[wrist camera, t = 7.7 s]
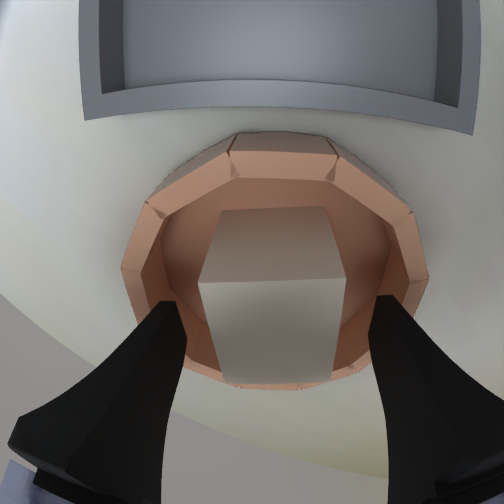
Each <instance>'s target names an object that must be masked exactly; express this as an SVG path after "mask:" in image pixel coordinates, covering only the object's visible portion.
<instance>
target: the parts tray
mask: <svg viewBox="0 0 504 504" xmlns="http://www.w3.org/2000/svg"><path fill="white" fill-rule="evenodd" d="M480 57H481V20H480V1H479V0H79V63H80V79H81V92H82V102H83V112H84V120H85V121H86V120H91V119H97V118H103V117H109V116H116V115H123V114H131V113H139V112H148V111H157V110H168V109H181V108H198V107H225V106H266V107H293V108H310V109H323V110H334V111H344V112H352V113H361V114H368V115H375V116H382V117H388V118H395V119H400V120H406V121H411V122H417V123H422V124H426V125H431V126H436V127H440V128H444V129H449V130H453V131H457V132H461V133H465V134H468V135H472V136H473V130H474V123H475V116H476V108H477V99H478V89H479V76H480Z"/></svg>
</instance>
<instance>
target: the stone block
mask: <svg viewBox="0 0 504 504" xmlns="http://www.w3.org/2000/svg"><path fill="white" fill-rule="evenodd" d="M345 285H346V275H345V272H344V268H343V265H342V261H341V258H340V254H339V251H338V248H337V245H336V241H335V238H334V235H333V232H332V228H331V225H330V222H329V219H328V216H327V213H326V210H325V207H324V206H305V207H280V208H258V209H239V210H223V211H221V214H220V217H219V220H218V222H217V225H216V228H215V231H214V234H213V237H212V240H211V243H210V246H209V249H208V252H207V255H206V258H205V262H204V265H203V268H202V271H201V274H200V277H199V280H198V286H199V291H200V295H201V299H202V303H203V306H204V310H205V314H206V318H207V322H208V326H209V329H210V333H211V337H212V340H213V344H214V348H215V351H216V355H217V358H218V362H219V365H220V369H221V372H222V376H223V379H224V383H227V384H291V383H314V382H330V380H331V375H332V369H333V364H334V358H335V353H336V347H337V341H338V335H339V328H340V322H341V315H342V308H343V300H344V293H345Z"/></svg>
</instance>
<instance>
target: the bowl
mask: <svg viewBox="0 0 504 504" xmlns="http://www.w3.org/2000/svg"><path fill="white" fill-rule="evenodd" d="M305 206H324V207H325V210H326V213H327V216H328V219H329V222H330V225H331V228H332V232H333V235H334V238H335V241H336V245H337V248H338V251H339V254H340V258H341V261H342V265H343V268H344V272H345V275H346V285H345V293H344V300H343V308H342V315H341V322H340V328H339V335H338V341H337V347H336V353H335V358H334V364H333V369H332V375H331V380H330V381H333V380H336V379H339V378H343V377H346V376H349V375H352V374H355V373H357V371H358V372H359V371H361V370H362V369H363V368H365V367H366V366H367V365H369V364H370V363H371V362H372V360H371V355H370V348H369V341H368V331H369V327H370V323H371V319H372V315H373V310H374V306H375V302H376V297H377V296H378V295H393V296H394V297H395V298H396V299H397V300H398V301H399V302H400V304H401V305H402V306H403V307H404V308H405V310H406V311H407V312H408V313H409V314H410V315H411V317H412V318H413V317H414V314H415V312H416V310H417V307H418V305H419V303H420V300H421V298H422V296H423V293H424V291H425V288H426V286H427V283H428V280H429V279H428V278H429V275H428V270H427V266H426V261H425V256H424V252H423V248H422V244H421V240H420V236H419V232H418V228H417V224H416V221H415V217H414V213H413V212H412V210H411V209H410V207H409V206H408V205H407V204H406V203H405V201H404V200H403V199H402V198H401V197H400V195H399V194H398V193H397V192H396V191H395V190H394V189H393V187H392V186H391V185H390V184H389V183H388V182H387V181H386V180H385V179H383V178H382V177H381V176H379V175H378V174H377V173H375V172H374V171H373V170H372V169H370V168H369V167H368V166H367V165H365V164H364V163H363V162H362V161H361V160H360V159H358V158H357V157H356V156H355V155H353V154H351V153H350V152H348V151H346V150H345V149H343V148H342V147H340V146H338V145H337V144H335V143H334V142H332V141H331V140H329V139H328V138H326V139H325V138H324V137H321V136H310V135H306V134H302V133H294V132H285V131H268V132H256V133H239V134H238V136H237V135H236V134H235V135H233V136H232V137H230V138H228V139H226V140H225V141H222V142H220V143H218V144H216V145H214V146H212V147H210V148H208V149H206V150H204V151H203V152H201V153H200V154H198V155H197V156H195V157H194V158H193V159H191V160H190V161H189V162H188V163H186V164H184V165H183V166H181V167H180V168H178V169H176V170H175V171H173V172H172V173H170V174H169V175H168V176H167V177H166V178H165V179H164V181H163V182H162V183H161V184H160V185H159V186H158V187H157V189H156V190H155V191H154V192H153V193H152V194H151V195H150V197H149V198H148V199H147V200H146V201H145V203H144V205H143V208H142V210H141V213H140V215H139V218H138V220H137V223H136V226H135V228H134V231H133V233H132V236H131V239H130V242H129V244H128V247H127V250H126V253H125V256H124V259H123V261H122V264H121V267H122V268H121V272H122V276H123V279H124V282H125V286H126V289H127V292H128V295H129V299H130V302H131V305H132V308H133V311H134V314H135V317H136V320H137V323H138V325H139V324H140V323H141V321H142V320H143V319H144V318H145V317H146V316H147V315H148V314H149V312H150V311H151V310H152V309H153V308H154V307H155V306H156V305H157V304H158V303H159V301H176V304H177V308H178V311H179V314H180V317H181V320H182V323H183V326H184V329H185V332H186V335H187V338H188V339H187V346H186V353H185V359H184V364H183V367H185V368H187V369H190V370H192V371H195V372H197V373H200V374H202V375H205V376H207V377H210V378H213V379H215V380H218V381H221V382H223V383H224V379H223V376H222V372H221V369H220V365H219V362H218V358H217V355H216V351H215V348H214V344H213V340H212V337H211V333H210V329H209V326H208V322H207V318H206V314H205V310H204V306H203V303H202V299H201V295H200V291H199V286H198V280H199V277H200V274H201V271H202V268H203V265H204V262H205V258H206V255H207V252H208V249H209V246H210V243H211V240H212V237H213V234H214V231H215V228H216V225H217V222H218V220H219V217H220V214H221V211H223V210H239V209H258V208H280V207H305ZM323 383H326V382H314V383H291V384H229V385H232V386H234V387H237V388H238V387H239V386H240V388H247V389H269V390H299V388H300V390H302V389H306V388H309V387H313V386H316V385H320V384H323ZM226 384H227V383H226Z"/></svg>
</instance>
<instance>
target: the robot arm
mask: <svg viewBox="0 0 504 504" xmlns="http://www.w3.org/2000/svg"><path fill="white" fill-rule="evenodd" d="M187 339H188V338H187V335H186V332H185V329H184V326H183V323H182V320H181V317H180V314H179V311H178V308H177V304H176V301H159V303H158V304H157V305H156V306H155V307H154V308H153V309H152V310H151V311H150V312H149V314H148V315H147V316H146V317H145V318H144V319H143V320H142V321H141V323H140V324H139V325H138V326H137V327H136V328H135V329H134V330H133V332H132V333H131V334H130V335H129V336H128V337H127V338H126V339H125V340H124V341H123V342H122V343H121V344H120V345H119V346H118V348H117V349H116V350H115V351H114V352H113V353H112V354H111V355H110V356H109V357H108V358H107V359H106V360H104V361H103V362H102V363H101V364H100V365H99V366H98V367H97V368H96V369H94V370H93V371H92V372H91V373H90V374H89V375H87V376H86V377H85V378H84V379H82V380H81V381H80V382H78V383H77V384H75V385H74V386H73V387H71V388H70V389H69V390H67V391H66V392H64V393H63V394H61V395H60V396H58V397H57V398H55V399H53V400H52V401H50V402H48V403H47V404H45V405H43V406H41V407H39V408H38V409H35V410H33V411H31V412H29V413H27V414H25V415H23V416H20V417H19V418H18V420H17V423H16V425H15V427H14V430H13V432H12V434H11V436H10V439H9V441H8V446H9V448H10V449H12V450H13V451H14V452H15V453H17V454H18V455H19V456H21V457H22V458H24V459H25V460H27V461H28V462H30V463H31V464H33V465H34V466H36V467H37V468H38V469H37V472H36V473H35V472H33V471H31V470H30V469H28V468H26V467H24V466H22V465H20V464H18V463H17V462H15V461H13V460H12V459H11V460H9V463H8V466H7V469H6V471H5V474H4V477H3V480H2V483H1V486H0V504H161V478H162V463H163V453H164V444H165V436H166V430H167V423H168V418H169V413H170V410H171V406H172V402H173V399H174V395H175V392H176V388H177V385H178V382H179V378H180V375H181V371H182V367H183V364H184V359H185V353H186V346H187ZM368 341H369V348H370V355H371V360H372V364H373V368H374V372H375V376H376V380H377V384H378V388H379V392H380V396H381V400H382V404H383V408H384V414H385V420H386V429H387V440H388V459H389V486H388V503H387V504H504V400H502V399H501V398H499V397H498V396H496V395H494V394H493V393H492V392H490V391H489V390H487V389H486V388H485V387H483V386H482V385H481V384H479V383H478V382H477V381H475V380H474V379H473V378H472V377H470V376H469V375H468V374H467V373H466V372H464V371H463V370H462V369H461V368H460V367H459V366H458V365H457V364H455V363H454V362H453V361H452V360H451V359H450V358H449V357H448V356H447V355H446V354H445V353H444V352H443V351H442V350H441V349H440V348H439V347H438V346H437V345H436V344H435V343H434V342H433V340H432V339H431V338H430V337H429V336H428V335H427V334H426V333H425V332H424V330H423V329H422V328H421V327H420V326H419V325H418V324H417V322H416V321H415V320H414V319H413V318H412V317H411V315H410V314H409V313H408V312H407V311H406V310H405V308H404V307H403V306H402V305H401V304H400V302H399V301H398V300H397V299H396V298H395V297H394V296H393V295H378V296H377V297H376V302H375V306H374V310H373V315H372V319H371V323H370V327H369V331H368Z"/></svg>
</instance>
